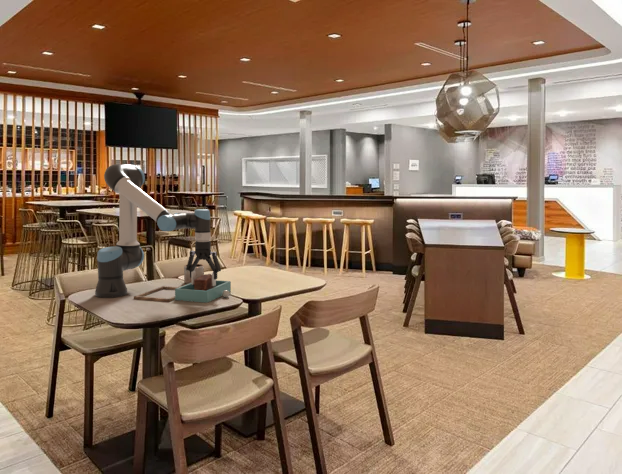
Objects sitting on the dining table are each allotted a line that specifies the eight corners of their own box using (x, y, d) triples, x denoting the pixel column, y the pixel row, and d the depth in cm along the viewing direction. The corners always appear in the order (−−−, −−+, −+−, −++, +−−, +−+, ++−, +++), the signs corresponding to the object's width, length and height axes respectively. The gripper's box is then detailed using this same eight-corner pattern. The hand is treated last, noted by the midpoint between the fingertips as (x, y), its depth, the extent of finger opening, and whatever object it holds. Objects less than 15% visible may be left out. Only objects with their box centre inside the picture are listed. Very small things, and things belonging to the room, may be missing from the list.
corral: (133, 298, 255) (133, 296, 254) (163, 288, 279) (162, 286, 279) (169, 301, 249) (169, 299, 249) (195, 290, 273) (195, 288, 273)
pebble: (220, 297, 258) (220, 290, 257) (224, 296, 261) (224, 289, 261) (227, 298, 257) (227, 291, 256) (230, 296, 260) (230, 289, 260)
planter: (195, 279, 302) (194, 263, 301) (208, 282, 296) (207, 265, 295) (180, 282, 294) (179, 265, 293) (193, 285, 287) (193, 267, 286)
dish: (175, 300, 253) (174, 288, 252) (200, 289, 277) (200, 279, 276) (207, 302, 248) (207, 291, 247) (230, 291, 272) (230, 281, 271)
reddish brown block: (206, 298, 254) (206, 279, 253) (192, 297, 254) (192, 279, 253) (214, 289, 272) (214, 272, 271) (202, 289, 272) (201, 271, 271)
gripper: (178, 240, 259) (179, 284, 261) (220, 242, 252) (221, 288, 255) (185, 239, 266) (186, 282, 269) (227, 240, 259) (228, 284, 262)
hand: (203, 285), depth 262 cm, fingers open, 10 cm apart
